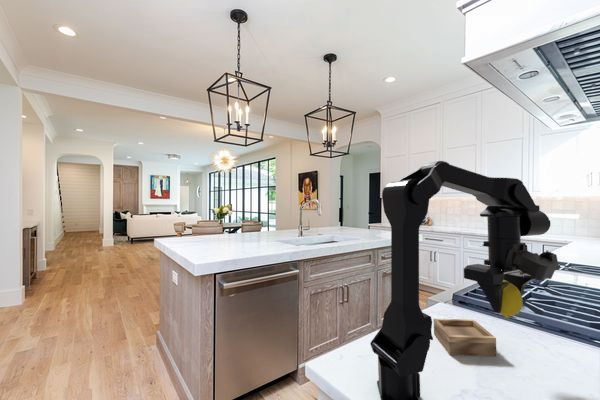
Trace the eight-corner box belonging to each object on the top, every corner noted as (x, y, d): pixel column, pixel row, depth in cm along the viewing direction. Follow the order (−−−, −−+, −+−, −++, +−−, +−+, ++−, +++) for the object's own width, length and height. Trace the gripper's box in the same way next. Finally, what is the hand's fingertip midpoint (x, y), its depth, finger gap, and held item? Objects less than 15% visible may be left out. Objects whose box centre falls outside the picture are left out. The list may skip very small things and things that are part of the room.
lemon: (528, 324, 57) (527, 284, 57) (498, 322, 58) (496, 283, 58) (514, 313, 62) (513, 277, 62) (486, 312, 63) (485, 276, 64)
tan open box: (449, 354, 65) (449, 336, 65) (434, 334, 75) (433, 318, 75) (496, 356, 63) (495, 338, 63) (474, 335, 73) (473, 319, 73)
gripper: (519, 245, 49) (521, 334, 49) (575, 238, 57) (577, 316, 56) (460, 238, 60) (462, 312, 59) (514, 233, 67) (516, 299, 67)
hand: (506, 310), depth 60 cm, fingers closed on lemon, 5 cm apart
